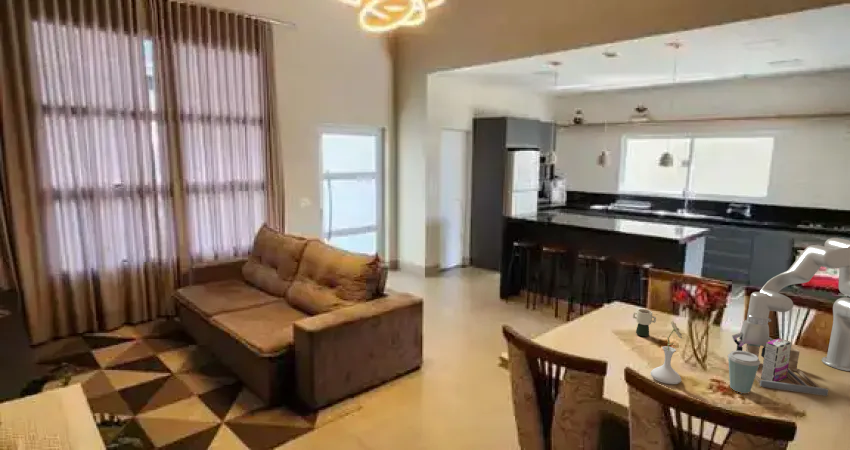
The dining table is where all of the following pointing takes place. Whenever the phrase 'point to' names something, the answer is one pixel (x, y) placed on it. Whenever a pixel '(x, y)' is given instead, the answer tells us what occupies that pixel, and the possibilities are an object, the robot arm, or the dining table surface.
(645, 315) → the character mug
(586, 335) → the dining table surface
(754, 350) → the sled
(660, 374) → the flower in vase
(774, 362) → the candy bar box
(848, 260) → the robot arm
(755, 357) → the disposable coffee cup
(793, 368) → the sled
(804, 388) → the lane rails
